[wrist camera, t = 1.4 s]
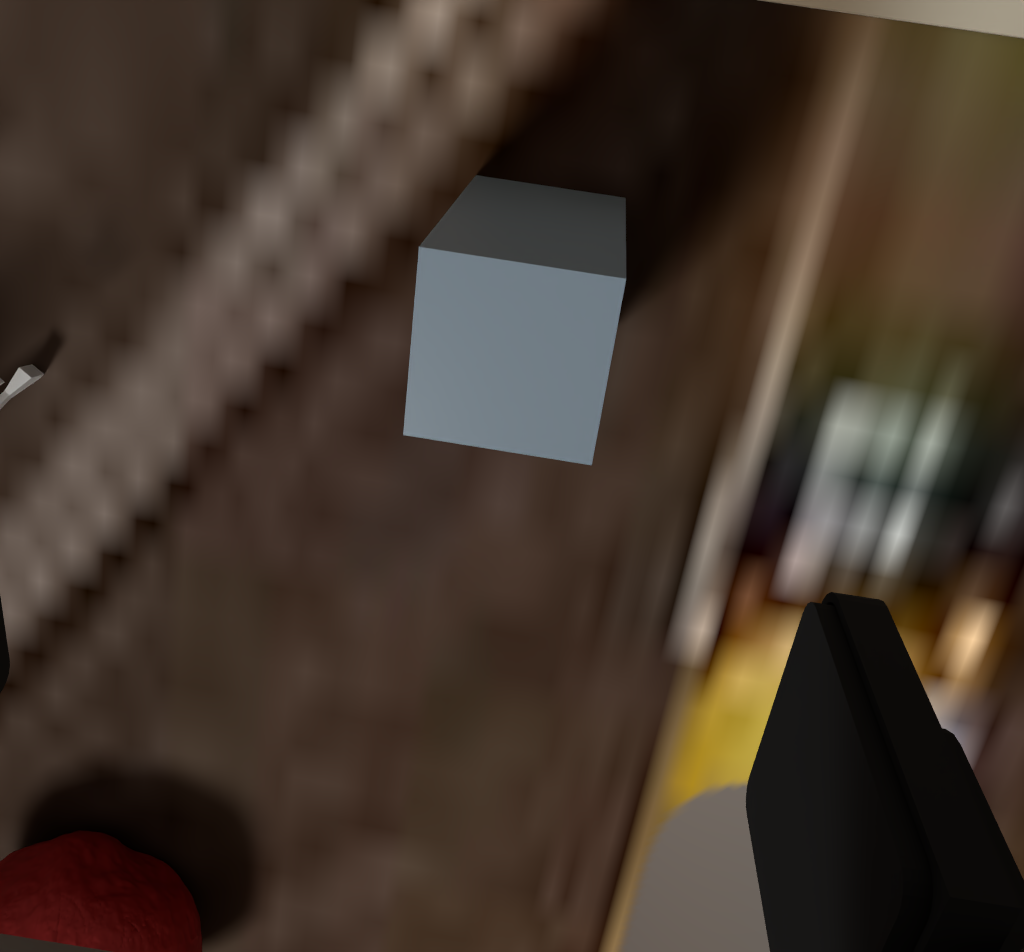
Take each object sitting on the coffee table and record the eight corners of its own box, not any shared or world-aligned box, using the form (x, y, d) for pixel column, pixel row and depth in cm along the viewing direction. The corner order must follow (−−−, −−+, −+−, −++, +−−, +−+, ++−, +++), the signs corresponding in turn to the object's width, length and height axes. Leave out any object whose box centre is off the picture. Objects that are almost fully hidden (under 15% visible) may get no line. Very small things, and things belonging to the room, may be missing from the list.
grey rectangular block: (625, 197, 25) (626, 278, 18) (599, 341, 27) (591, 465, 20) (476, 175, 26) (418, 247, 18) (460, 319, 27) (403, 435, 20)
